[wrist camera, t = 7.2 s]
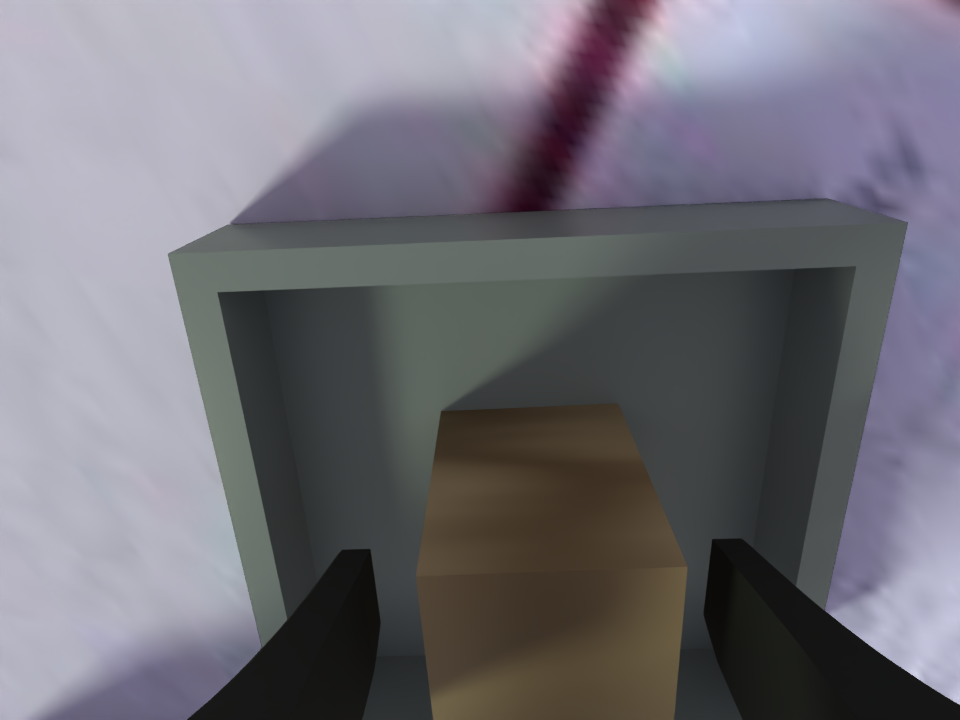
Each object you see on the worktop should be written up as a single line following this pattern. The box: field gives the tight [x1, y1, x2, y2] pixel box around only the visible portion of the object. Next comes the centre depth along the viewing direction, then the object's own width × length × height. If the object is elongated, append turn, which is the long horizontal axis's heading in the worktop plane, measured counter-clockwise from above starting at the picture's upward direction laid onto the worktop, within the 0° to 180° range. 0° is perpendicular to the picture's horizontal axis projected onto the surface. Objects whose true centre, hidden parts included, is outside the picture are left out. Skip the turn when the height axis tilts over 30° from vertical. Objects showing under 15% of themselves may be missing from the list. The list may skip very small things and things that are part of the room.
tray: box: [168, 199, 908, 720], centre depth 16 cm, size 14×14×3 cm
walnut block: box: [416, 403, 688, 720], centre depth 14 cm, size 4×4×6 cm
